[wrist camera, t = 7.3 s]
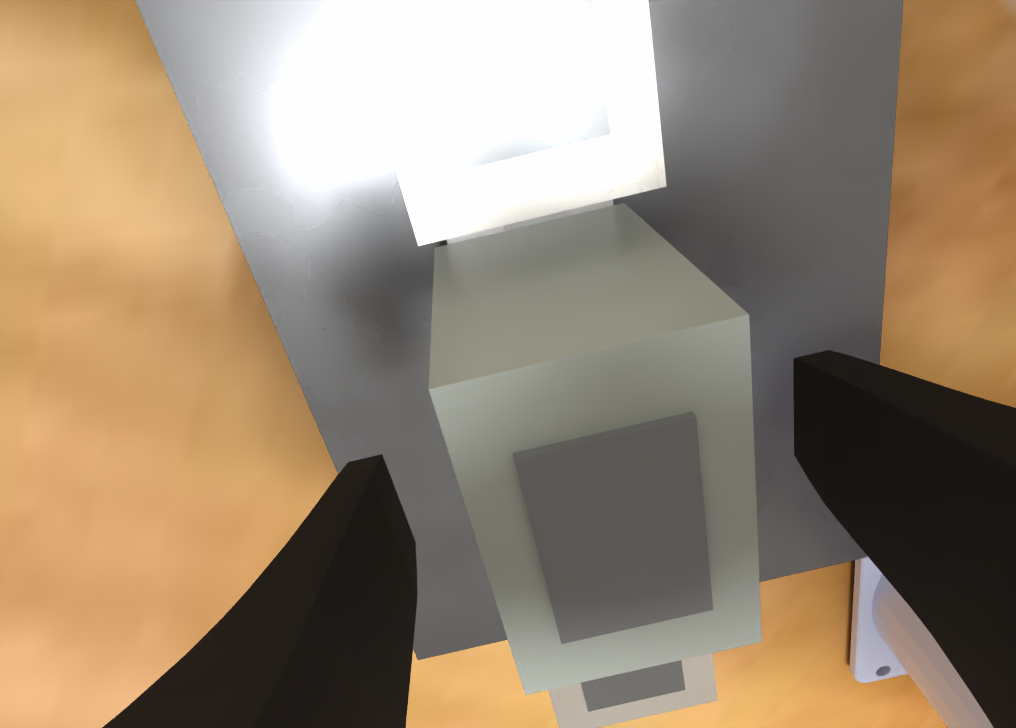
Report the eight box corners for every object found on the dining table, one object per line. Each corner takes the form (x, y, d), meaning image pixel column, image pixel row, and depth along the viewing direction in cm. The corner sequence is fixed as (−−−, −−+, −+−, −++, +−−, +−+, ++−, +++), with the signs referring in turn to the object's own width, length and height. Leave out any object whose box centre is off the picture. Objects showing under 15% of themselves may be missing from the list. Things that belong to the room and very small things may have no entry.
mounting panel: (890, -254, 11) (1147, -423, 7) (851, 539, 20) (957, 667, 16) (127, -61, 11) (-50, -119, 7) (418, 638, 20) (412, 790, 16)
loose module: (624, 203, 13) (754, 319, 8) (654, 439, 16) (765, 650, 10) (434, 248, 13) (428, 395, 8) (497, 475, 16) (526, 703, 10)
